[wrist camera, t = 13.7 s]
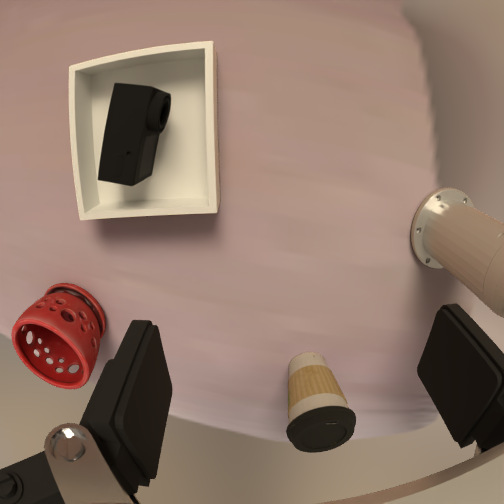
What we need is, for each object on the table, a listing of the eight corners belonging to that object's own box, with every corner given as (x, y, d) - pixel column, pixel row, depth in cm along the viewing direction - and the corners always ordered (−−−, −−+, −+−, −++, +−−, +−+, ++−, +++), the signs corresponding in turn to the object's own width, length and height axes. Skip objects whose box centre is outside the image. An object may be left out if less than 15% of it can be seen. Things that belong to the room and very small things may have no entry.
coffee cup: (273, 384, 51) (281, 455, 37) (283, 342, 47) (296, 417, 33) (326, 385, 51) (345, 452, 37) (342, 344, 48) (369, 413, 34)
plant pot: (49, 329, 45) (18, 372, 34) (45, 265, 41) (4, 304, 30) (113, 352, 47) (90, 403, 36) (117, 290, 43) (85, 339, 31)
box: (216, 52, 31) (212, 40, 26) (220, 201, 38) (217, 213, 33) (89, 71, 30) (69, 66, 25) (98, 207, 38) (80, 220, 33)
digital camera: (160, 178, 36) (143, 190, 29) (120, 171, 35) (96, 181, 29) (178, 94, 32) (164, 87, 25) (136, 88, 31) (114, 82, 25)
